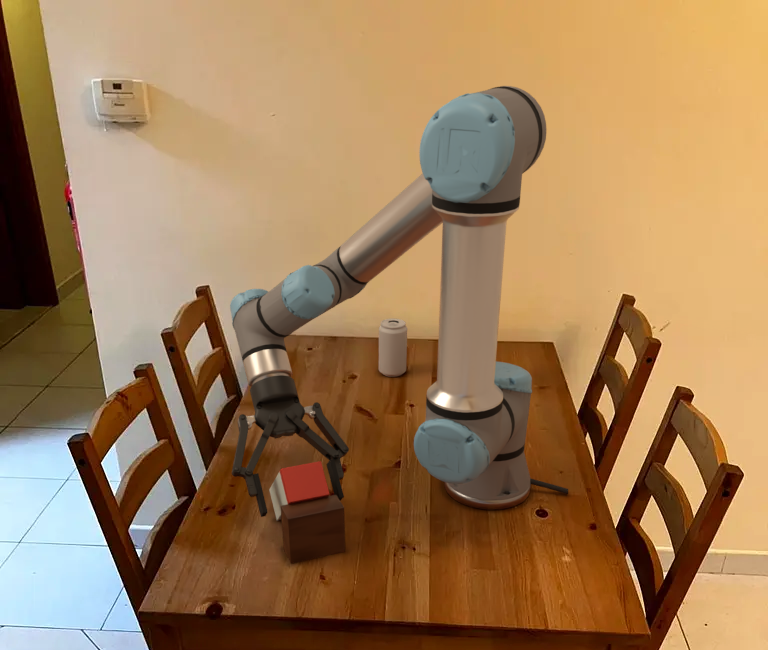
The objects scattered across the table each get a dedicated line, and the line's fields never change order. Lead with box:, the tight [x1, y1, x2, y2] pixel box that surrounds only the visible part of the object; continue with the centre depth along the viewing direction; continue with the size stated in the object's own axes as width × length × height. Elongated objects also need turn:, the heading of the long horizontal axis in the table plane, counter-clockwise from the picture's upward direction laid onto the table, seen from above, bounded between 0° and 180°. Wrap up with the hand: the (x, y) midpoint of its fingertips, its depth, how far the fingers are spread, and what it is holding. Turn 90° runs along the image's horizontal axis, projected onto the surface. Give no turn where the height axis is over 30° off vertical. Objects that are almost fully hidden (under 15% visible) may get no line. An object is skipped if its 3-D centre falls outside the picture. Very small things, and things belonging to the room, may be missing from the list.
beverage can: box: [378, 318, 408, 378], centre depth 186 cm, size 6×6×12 cm
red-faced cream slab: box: [269, 460, 330, 521], centre depth 133 cm, size 13×6×13 cm, turn 21°
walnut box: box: [281, 494, 346, 565], centre depth 129 cm, size 4×9×8 cm, turn 111°
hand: (302, 507), depth 132 cm, fingers open, 12 cm apart
